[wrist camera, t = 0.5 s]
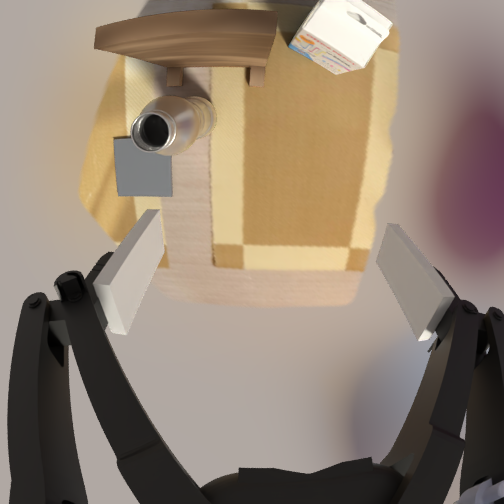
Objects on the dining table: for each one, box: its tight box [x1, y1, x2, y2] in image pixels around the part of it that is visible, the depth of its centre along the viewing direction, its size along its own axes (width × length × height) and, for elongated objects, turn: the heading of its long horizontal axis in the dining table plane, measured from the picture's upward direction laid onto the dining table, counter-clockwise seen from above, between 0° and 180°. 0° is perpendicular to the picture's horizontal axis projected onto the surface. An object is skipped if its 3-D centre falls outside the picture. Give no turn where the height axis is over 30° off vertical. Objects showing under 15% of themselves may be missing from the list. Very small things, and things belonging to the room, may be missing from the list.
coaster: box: [114, 138, 173, 197], centre depth 41 cm, size 10×10×1 cm
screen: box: [94, 9, 278, 87], centre depth 23 cm, size 8×14×22 cm, turn 86°
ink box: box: [288, 0, 393, 75], centre depth 25 cm, size 9×8×13 cm
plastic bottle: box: [131, 95, 217, 156], centre depth 29 cm, size 6×7×20 cm
